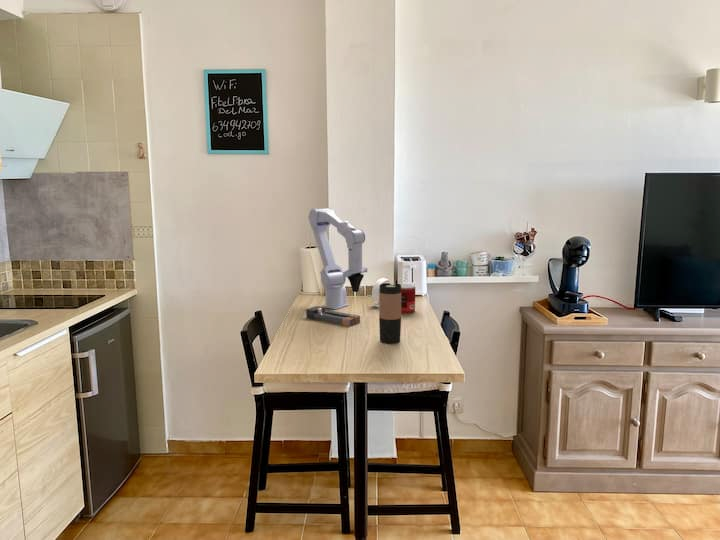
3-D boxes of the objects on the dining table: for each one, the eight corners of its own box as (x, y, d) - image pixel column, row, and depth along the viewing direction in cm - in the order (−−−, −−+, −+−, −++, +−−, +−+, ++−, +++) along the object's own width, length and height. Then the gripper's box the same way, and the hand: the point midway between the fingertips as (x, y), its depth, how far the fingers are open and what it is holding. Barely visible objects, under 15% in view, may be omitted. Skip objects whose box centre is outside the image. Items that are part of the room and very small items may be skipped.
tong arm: (324, 317, 227) (324, 311, 226) (329, 316, 229) (329, 310, 229) (355, 323, 218) (355, 317, 217) (360, 322, 220) (360, 315, 220)
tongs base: (306, 317, 227) (305, 308, 227) (317, 314, 233) (317, 305, 232) (349, 326, 215) (348, 316, 214) (359, 322, 220) (359, 313, 220)
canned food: (415, 309, 242) (415, 284, 240) (415, 313, 234) (415, 287, 232) (397, 308, 243) (397, 283, 241) (396, 313, 235) (397, 287, 233)
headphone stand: (388, 306, 247) (389, 279, 245) (377, 308, 244) (377, 281, 242) (383, 304, 251) (383, 278, 249) (371, 305, 248) (371, 279, 246)
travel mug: (386, 345, 191) (386, 288, 188) (375, 339, 198) (375, 284, 194) (405, 342, 194) (405, 285, 191) (393, 336, 201) (394, 282, 198)
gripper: (352, 262, 222) (352, 295, 225) (373, 258, 234) (373, 289, 236) (338, 260, 226) (338, 293, 229) (359, 256, 238) (359, 287, 240)
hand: (355, 291), depth 233 cm, fingers closed
